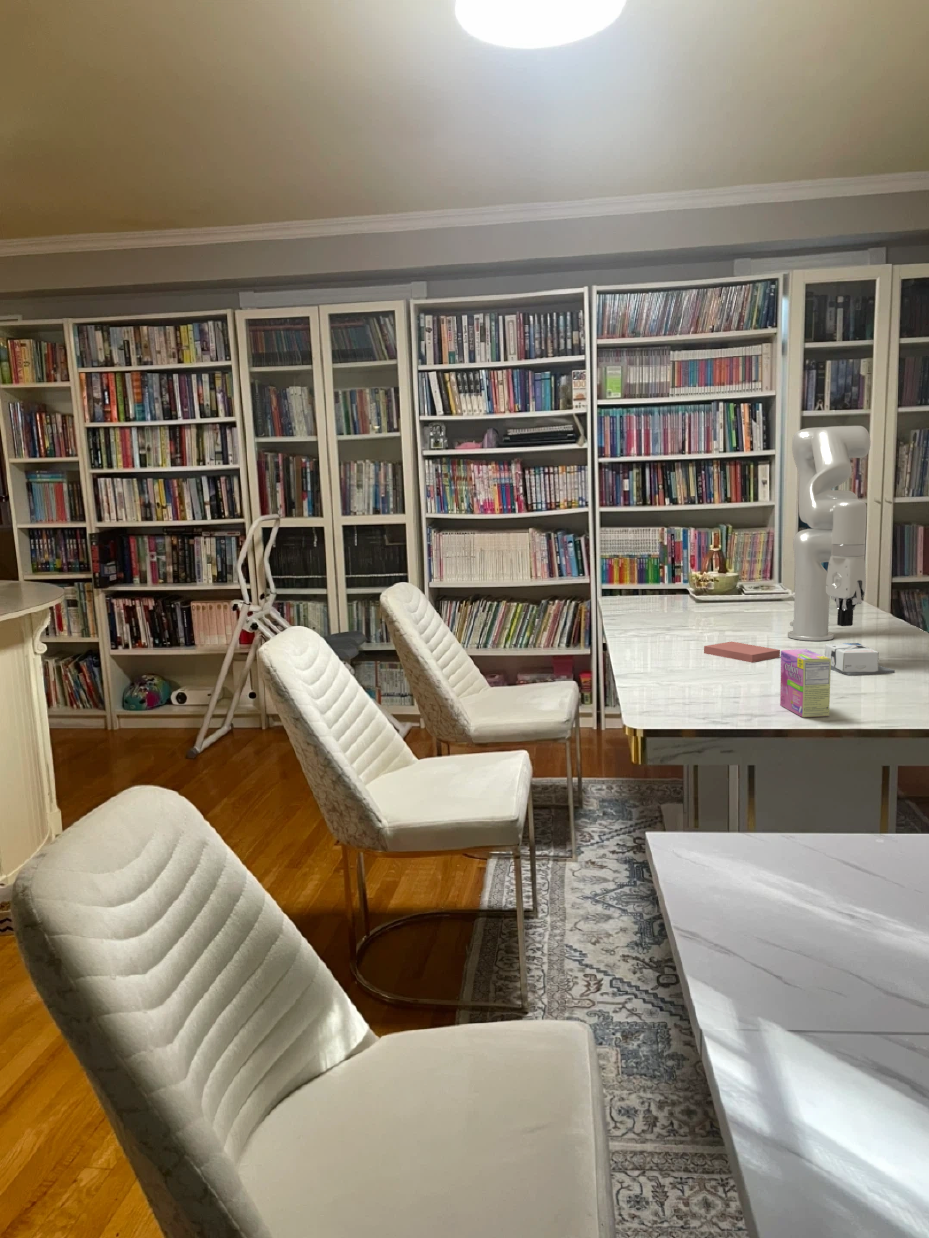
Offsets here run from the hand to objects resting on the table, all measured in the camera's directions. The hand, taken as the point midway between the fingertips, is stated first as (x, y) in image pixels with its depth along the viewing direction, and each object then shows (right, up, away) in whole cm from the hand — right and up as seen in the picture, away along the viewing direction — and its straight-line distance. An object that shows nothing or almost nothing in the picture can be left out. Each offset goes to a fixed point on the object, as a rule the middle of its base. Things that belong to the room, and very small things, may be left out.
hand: (844, 625), depth 223 cm
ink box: (0, -7, +2) cm, 7 cm away
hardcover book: (-21, -9, +17) cm, 28 cm away
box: (-26, -17, -41) cm, 52 cm away
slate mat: (+1, -10, -1) cm, 10 cm away
